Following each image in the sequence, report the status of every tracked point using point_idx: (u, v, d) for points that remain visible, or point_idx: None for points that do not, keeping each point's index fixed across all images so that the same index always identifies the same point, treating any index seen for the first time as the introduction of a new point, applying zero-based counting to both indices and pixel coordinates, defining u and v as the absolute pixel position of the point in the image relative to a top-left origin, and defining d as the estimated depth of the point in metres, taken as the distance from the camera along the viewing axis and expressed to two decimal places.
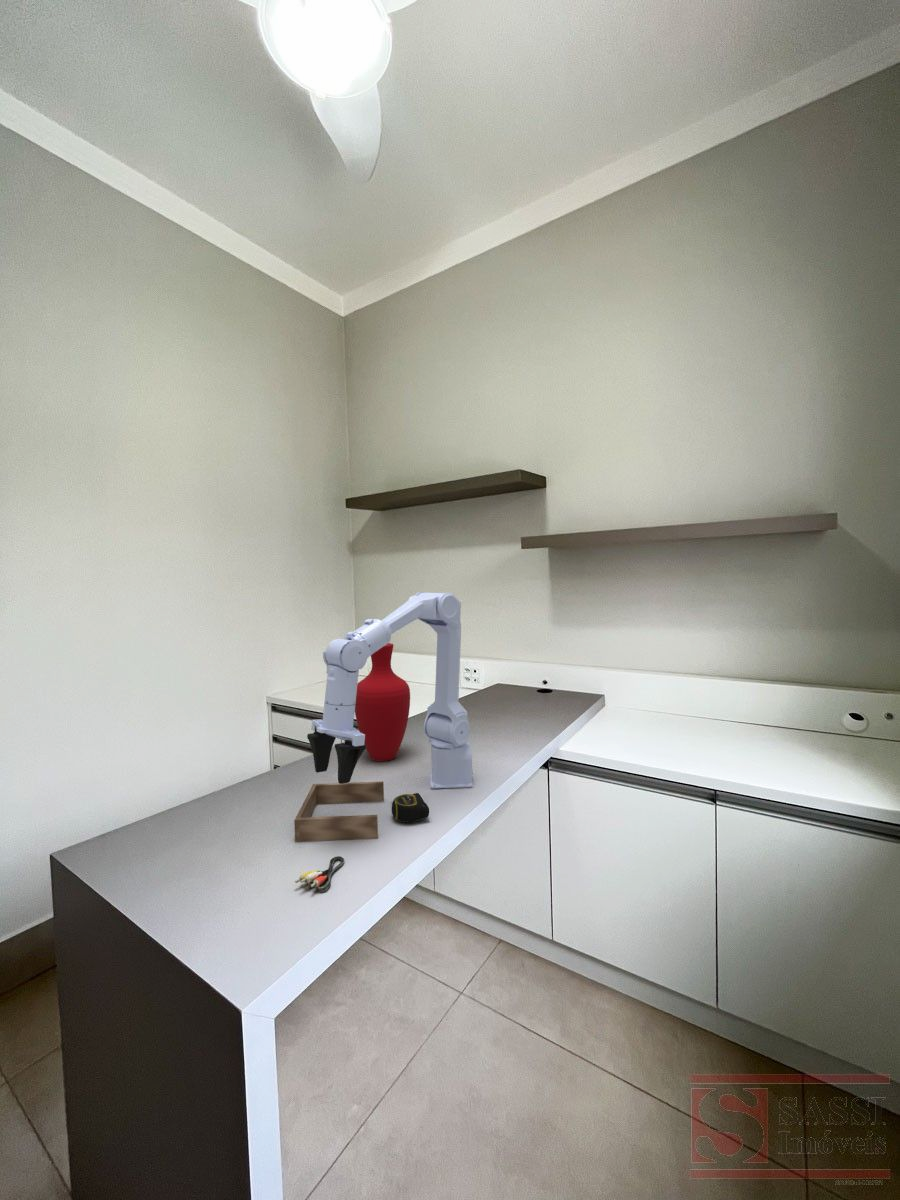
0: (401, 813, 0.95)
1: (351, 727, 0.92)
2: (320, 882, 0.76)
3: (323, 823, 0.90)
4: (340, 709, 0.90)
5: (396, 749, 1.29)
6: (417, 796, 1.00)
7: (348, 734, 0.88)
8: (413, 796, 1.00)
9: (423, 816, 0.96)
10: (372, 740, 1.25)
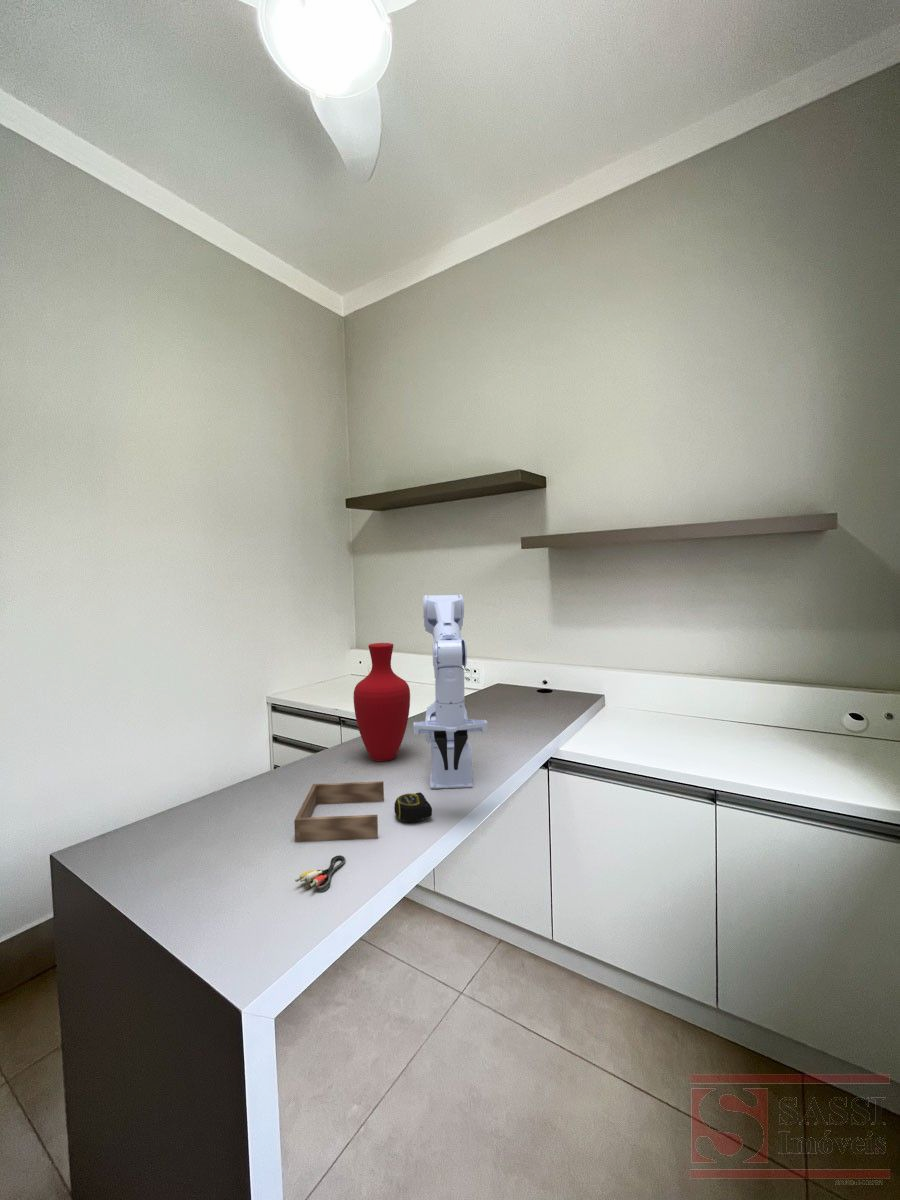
0: (404, 813, 0.95)
1: None
2: (320, 881, 0.76)
3: (323, 823, 0.90)
4: (462, 705, 0.97)
5: (396, 749, 1.29)
6: (420, 796, 1.00)
7: (478, 724, 0.97)
8: (416, 795, 1.00)
9: (426, 815, 0.96)
10: (372, 740, 1.25)
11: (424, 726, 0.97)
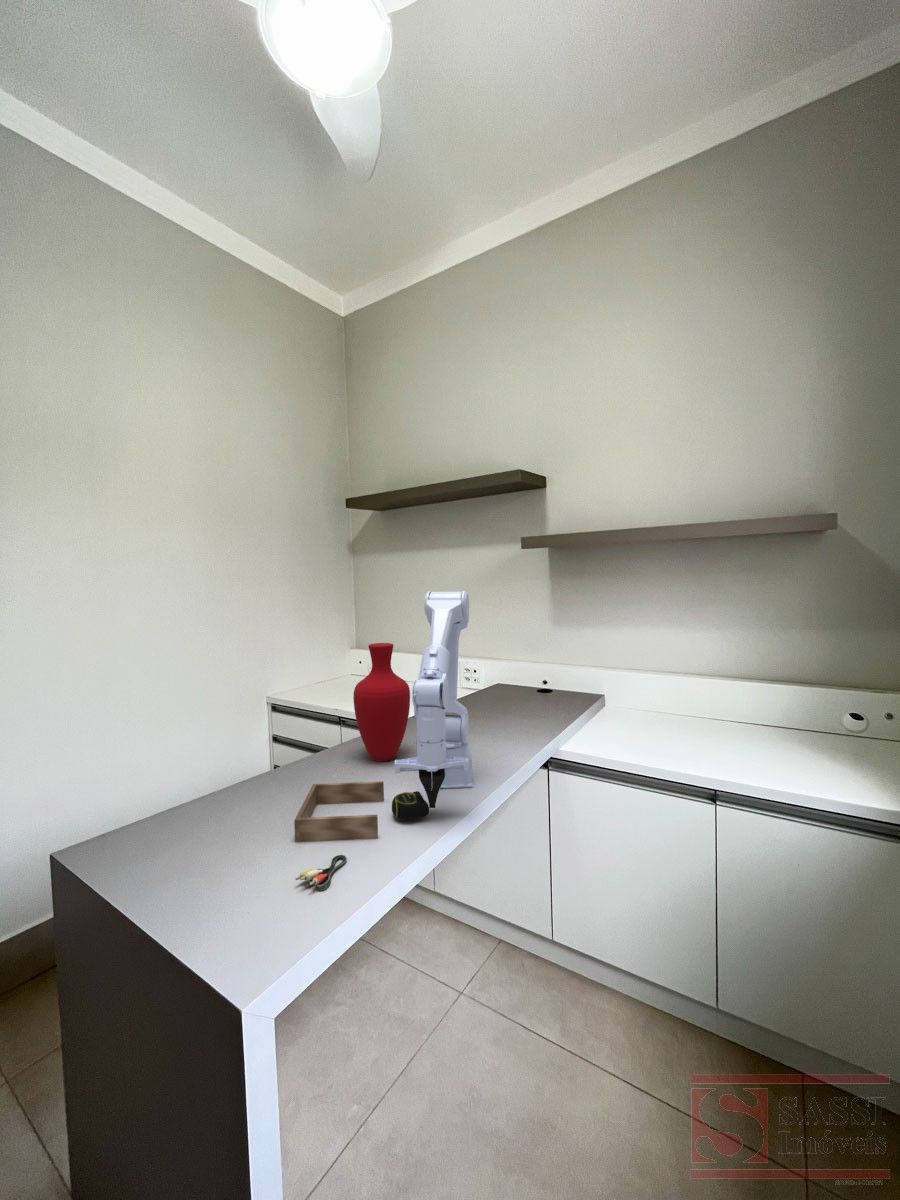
0: (401, 811, 0.95)
1: None
2: (319, 880, 0.76)
3: (323, 823, 0.90)
4: (443, 743, 0.97)
5: (396, 749, 1.29)
6: (417, 794, 1.00)
7: (459, 762, 0.97)
8: (413, 794, 1.00)
9: (423, 814, 0.96)
10: (372, 740, 1.25)
11: (405, 765, 0.97)
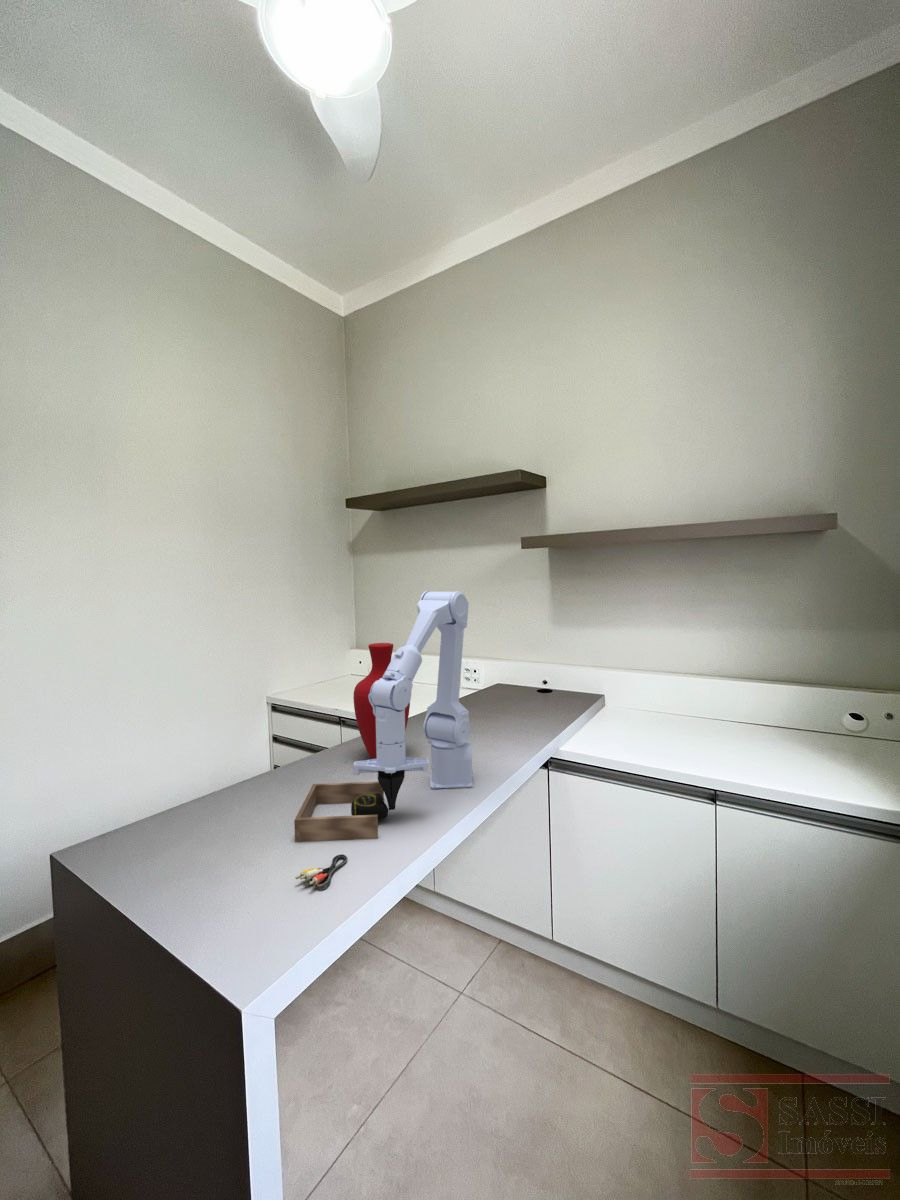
0: (359, 814, 0.95)
1: None
2: (319, 880, 0.76)
3: (323, 823, 0.90)
4: (403, 745, 0.96)
5: None
6: (377, 796, 0.99)
7: (418, 764, 0.97)
8: (374, 796, 1.00)
9: (382, 816, 0.95)
10: (372, 740, 1.25)
11: (364, 766, 0.96)
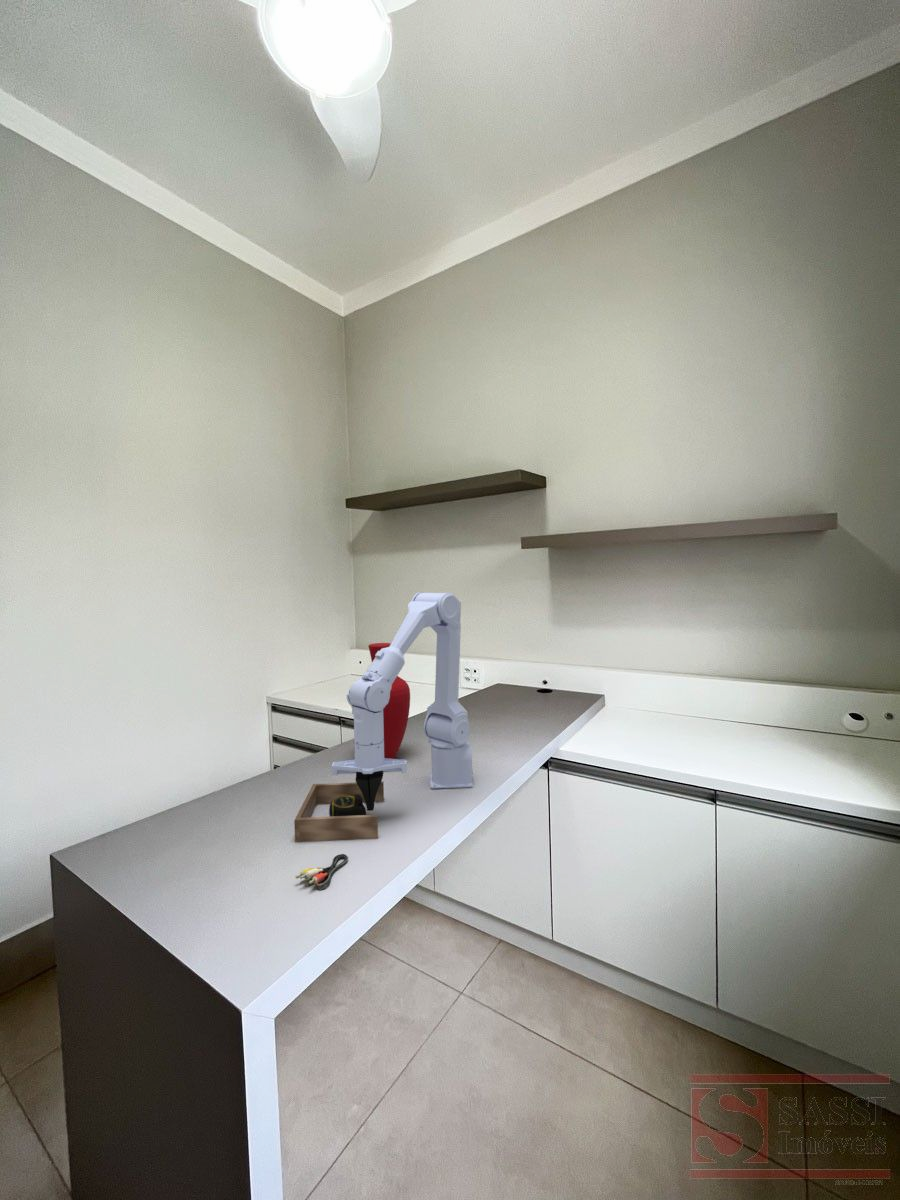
0: (336, 815, 0.94)
1: None
2: (319, 879, 0.76)
3: (323, 823, 0.90)
4: (381, 746, 0.96)
5: (396, 749, 1.29)
6: (356, 798, 0.99)
7: (396, 765, 0.97)
8: (352, 797, 0.99)
9: None
10: None
11: (342, 767, 0.96)
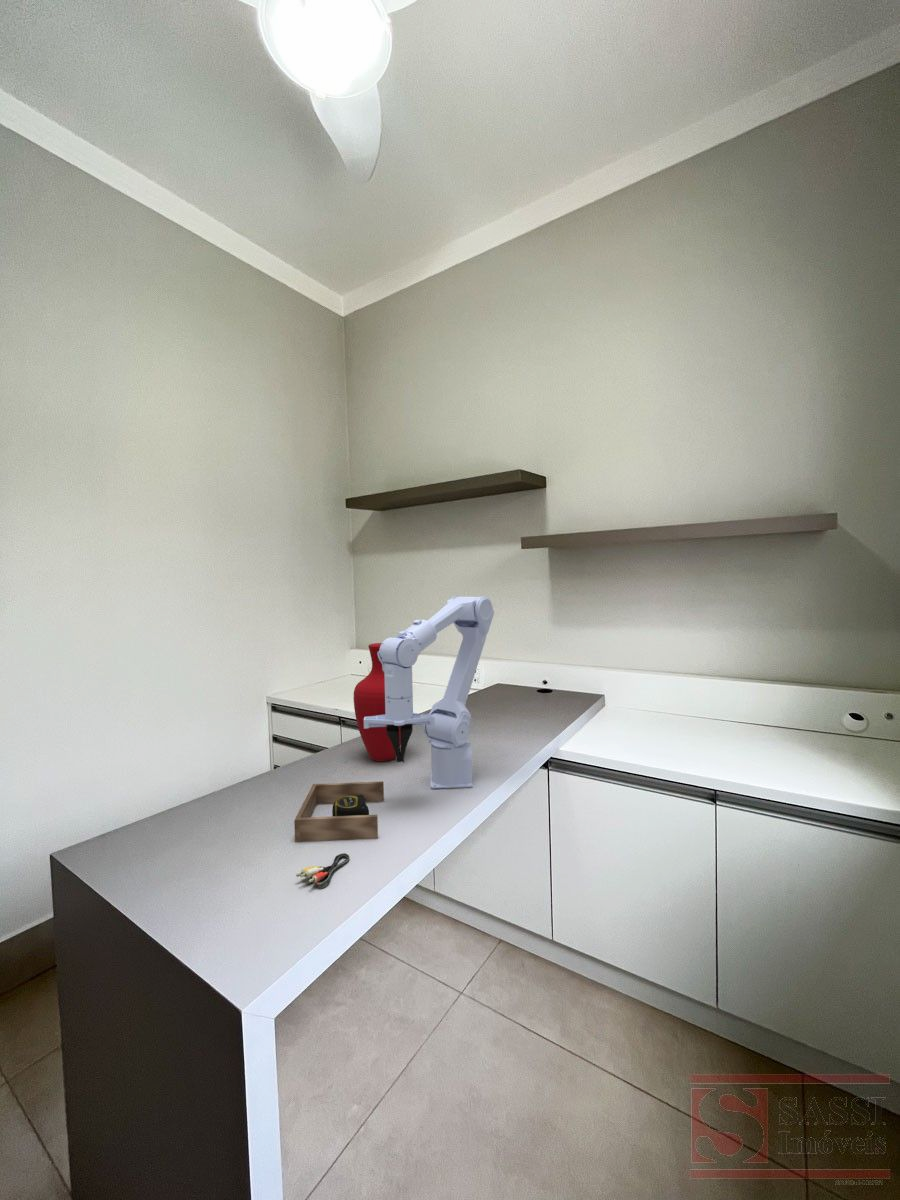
0: (339, 815, 0.95)
1: None
2: (319, 878, 0.77)
3: (323, 823, 0.90)
4: (410, 700, 1.02)
5: None
6: (359, 798, 0.99)
7: (425, 718, 1.02)
8: (355, 798, 0.99)
9: None
10: (372, 740, 1.25)
11: (374, 720, 1.01)
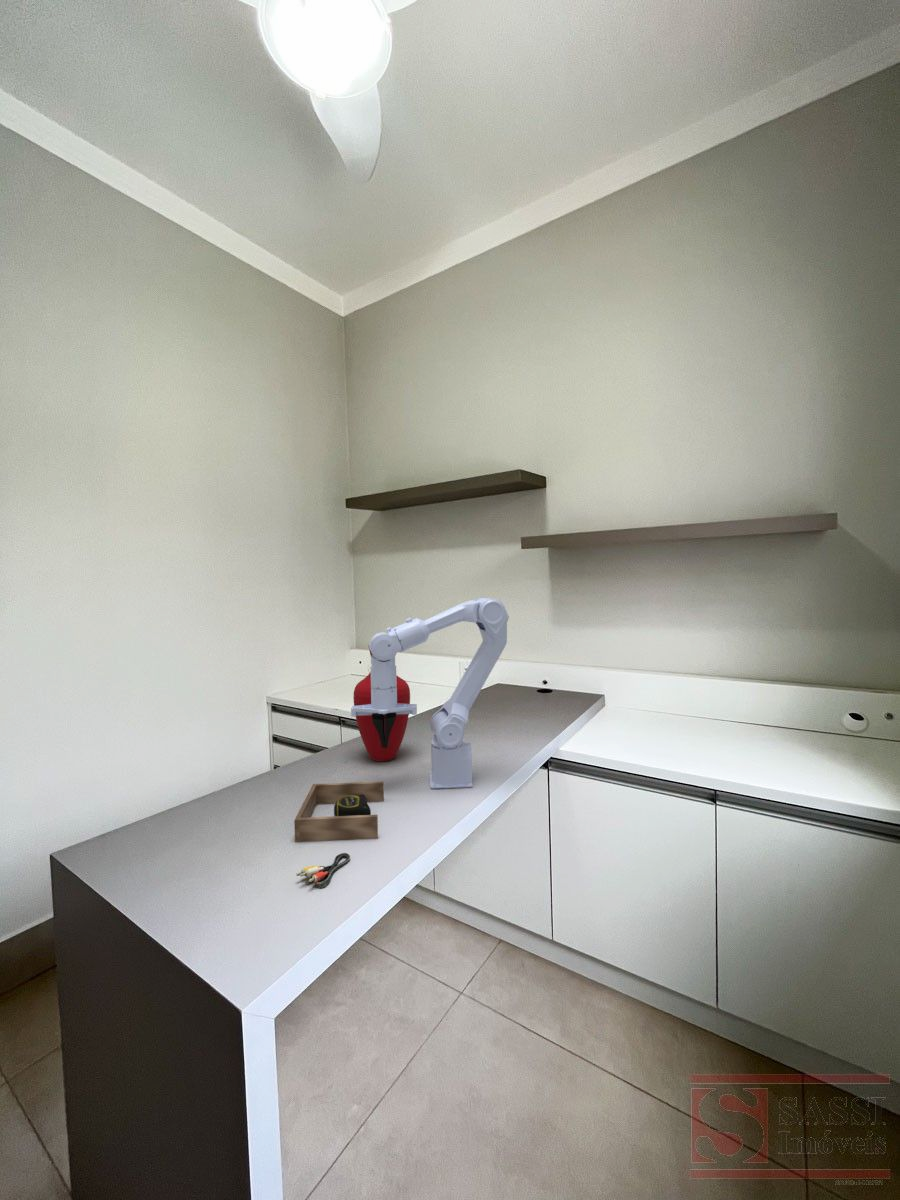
0: (341, 815, 0.95)
1: None
2: (319, 878, 0.77)
3: (323, 823, 0.90)
4: (394, 690, 1.10)
5: (396, 749, 1.29)
6: (361, 798, 0.99)
7: (408, 707, 1.10)
8: (357, 797, 1.00)
9: None
10: (372, 740, 1.25)
11: (360, 709, 1.10)
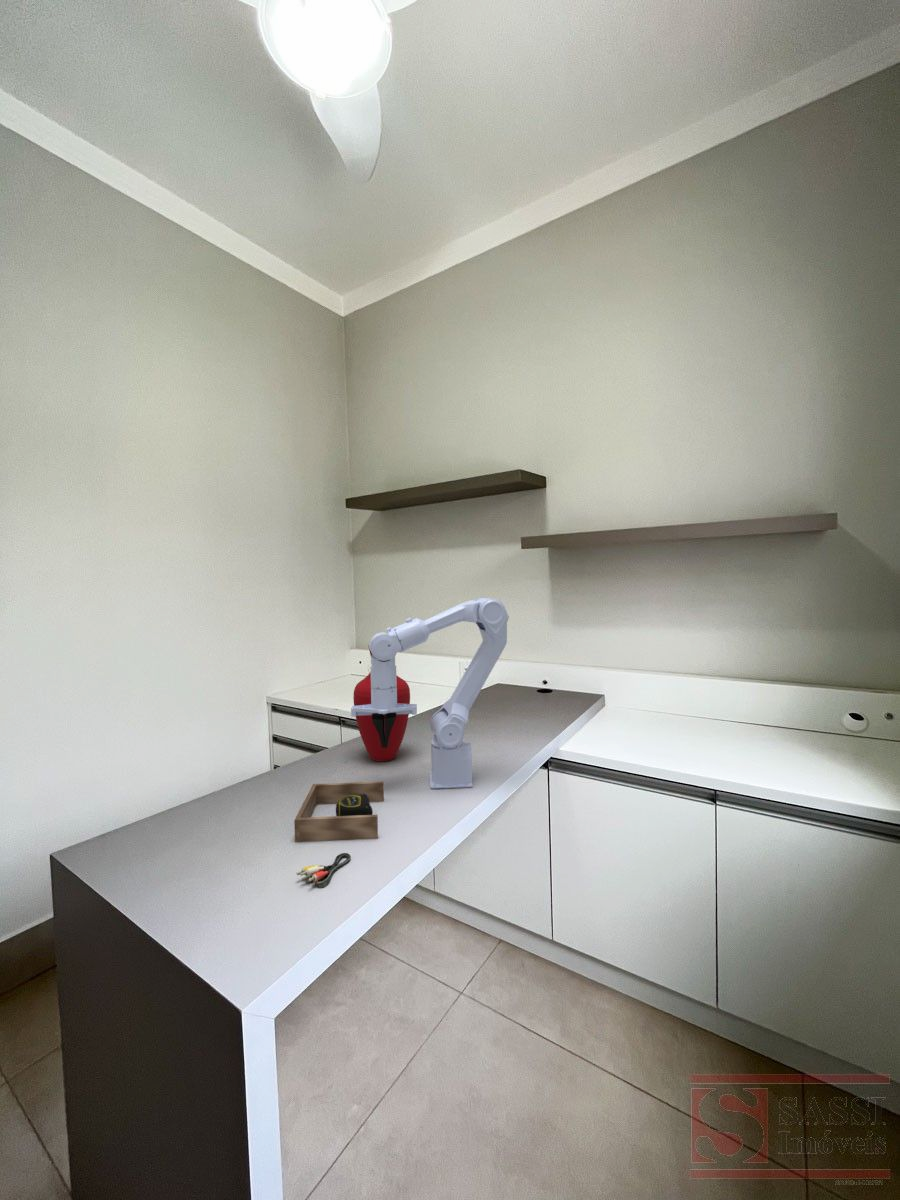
0: (343, 814, 0.95)
1: None
2: (319, 877, 0.77)
3: (323, 823, 0.90)
4: (394, 690, 1.10)
5: (396, 749, 1.29)
6: (362, 797, 0.99)
7: (408, 707, 1.10)
8: (359, 797, 1.00)
9: None
10: (372, 740, 1.25)
11: (360, 709, 1.10)
